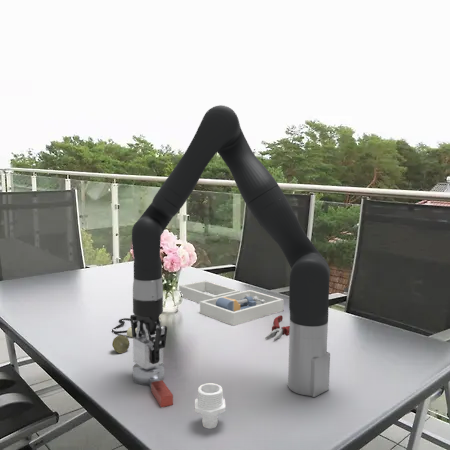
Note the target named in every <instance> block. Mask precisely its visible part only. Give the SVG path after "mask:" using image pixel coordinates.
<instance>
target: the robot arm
mask: <svg viewBox="0 0 450 450" xmlns="http://www.w3.org/2000/svg"><path fill="white" fill-rule="evenodd" d="M238 117H239V116H238V115H237V113H236V112H235V110H233V109H232V108H230V107H229V106H227V105H223V104H221V105H220V104H219V105H215V106H213V107H211V108H209V109H208V110H207V111H206V112H205V114H204V115H203V117H202V120H201V121H200V123H199V126H198V127H197V130H196V132H195V134H194V136H193V138H192V140H191V142H190V143H189V145H188V146H187V149H186V150H185V152H184V154H183V155H182V157H181V158H180V159H179V161H178V162H177V164H176V166H174V168H173V169H172V171H171V173H170V174H169V175H168V177H167V178H166V179H165V181H164V182H163V184H161V187H159V189H158V191H157V192H156V194H155V195H154V197H153V199H152V201H151V203H150V204H149V205H148V207H147V208H146V209H145V211H144V212H143V213H142V215H141V216H140V217H139V219H138V220H136V222H135V223H134V224H133V226H132V230H131V244H132V245H131V247H132V253H133V283H132V313H133V314H131V315H130V317H129V318H130V319H131V321H130V327H131V328H132V336H133V337H132V339H133V338H134V337H138V336H139V337H140V336H142V335H146V338H147V341H149V342H150V348H151V350H150V362H151V363H152V364H155V363H158V362H159V350H160V349H161V348H163V349H164V348H166V344H167V343H166V342H167V336H168V335H167V334H168V326H167V325H162V324H161V323H160V321H159V317H160V316H161V314H163V313H164V292H163V291H164V285H163V278H162V277H163V273H162V272H163V269H162V262H163V261H162V257H161V240H162V239H161V237H162V235H163V233H164V232H165V230H166V228H167V227H168V226H169V224H170V222H171V221H172V219H173V218H174V217H175V216H176V215H177V214H178V213H179V211H181V208H182V207H183V206H184V204H185V203H186V201H187V200H188V199H189V198H190V196H191V194H192V193H193V191H194V190H195V188H196V186H197V184H198V182H199V180H200V178H201V177H202V175H203V173H204V171H205V169H206V168H207V166H208V164H210V162H211V160H212V159H213V158H214V156H215V155H216V154H218V155H219V157H220V158H221V159H222V160H223V162H224V163H225V164H226V166H227V168H228V169H229V171H230V173H231V176H232V177H233V180H234V182H235V185H236V187H237V188H238V191H239V193H240V195H241V197H242V199H243V201H244V203H245V205H246V206H247V208H248V209H249V211H250V213H251V215H252V216H253V217H254V219H255V221H256V222H257V223H258V225H259V226H260V227H261V228H262V229H263V230H264V231H265V232H266V233H267V234H268V235H269V237H270V238H271V239H273V241H274V242H275V243H276V244H277V245H278V247H279V248H280V250H281V252H282V253H283V255H284V257H285V259H286V260H287V263H288V265H289V267H290V273H289V289H288V292H289V294H288V296H289V297H288V299H289V301H288V303H289V304H288V308H289V326H290V331H289V335H288V336H289V338H288V341H289V342H288V367H287V368H288V372H287V373H288V377H287V387H288V388H289V390H290V391H292V392H294V393H295V394H298V395H302V396H310V397H312V398H315V397H317V396H319V395H321V394H323V393H325V392H327V391H329V389H330V370H331V369H330V368H331V366H330V365H331V353H330V352H329V351H328V332H329V331H328V330H329V327H328V326H329V304H330V303H329V299H330V298H329V297H330V280H331V279H330V277H331V269H330V266H329V263H328V261H327V260H326V258H324V257H323V255H322V254H321V252H320V251H319V250H318V249H317V248H316V247H315V245H314V243H313V242H312V241H311V239H310V238H309V237H308V235H307V234H306V232H305V231H304V229H303V227H302V225H301V223H300V221H299V219H298V217H297V215H296V212H295V211H294V209H293V208H292V206H291V204H290V202H289V200H288V199H287V196H286V195H285V193H284V191H283V190H282V187H280V185H279V184H278V182H277V180H275V178H274V177H273V175H272V174H271V173H270V171H269V170H268V169H267V168H266V167H265V165H264V164H263V163H262V162H261V161H260V160H259V159H258V157H257V156H256V155H255V154H254V152H253V150H252V148H251V146H250V144H249V142H248V141H247V139H246V137H245V135H244V132H243V129H242V128H241V124H240V121H239V118H238ZM136 328H137V330H135V329H136ZM151 335H156V336H154V337H151ZM153 340H155V345H154V343H153ZM160 341H161V343H160Z"/></svg>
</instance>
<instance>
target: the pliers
mask: <svg viewBox="0 0 450 450" xmlns="http://www.w3.org/2000/svg"><path fill="white" fill-rule="evenodd" d="M283 319H284V318H283V315H278V316H276V317H274V318H273V322H272V323H273V325H272V326H271V331H270V333H269V334H267V335H266V337H265V340H268V339H271V338H273V341H275V340H277V339H280V338H281V337H282V336H283V335H284V336H289V331H290V325H287V326H281V327H280V323H281V322H283Z"/></svg>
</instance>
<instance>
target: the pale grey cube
mask: <svg viewBox="0 0 450 450" xmlns="http://www.w3.org/2000/svg"><path fill="white" fill-rule="evenodd" d="M154 336H156V334H155V335H151V337H154ZM132 341H133V344H132V349H133V350H132V356H133V357H132V358H133V359H132V360H133V363H134V364H138V365H139V366H141V367H142V368H144V369H146V368H149V367H153V366H156V365H159V364H162V363H163V364H164V348H161V349H160V350H159V362H158V363H155V364H152V363H151V362H150V350H151V348H150V342H149V341H147V338H146V335H142V336H140V337H139V336H138V337H134V338H133V337H132ZM153 343H154V345H155V340H153ZM160 343H161V341H160Z"/></svg>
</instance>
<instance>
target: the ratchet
mask: <svg viewBox="0 0 450 450" xmlns="http://www.w3.org/2000/svg"><path fill="white" fill-rule="evenodd" d="M164 379H165V364H164V362H163V363H162V364H159V365H156V366H153V367H149V368H146V369H144V368H142V367H141V366H139V365H138V364H136V363H134V365H133V366H132V381H133V382H134V383H135V384H137V385H141V386H149V387H150V389H151V391H150V392H151V393H152V395H153V397H154V398H155V401H156V402H157V404H158V405H159V406H160V408H165V407H170V406H173V405H174V395H173V393H172V391H171V390H170V389H169V387H168V386H167V384H166V383H165V382H164Z"/></svg>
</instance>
